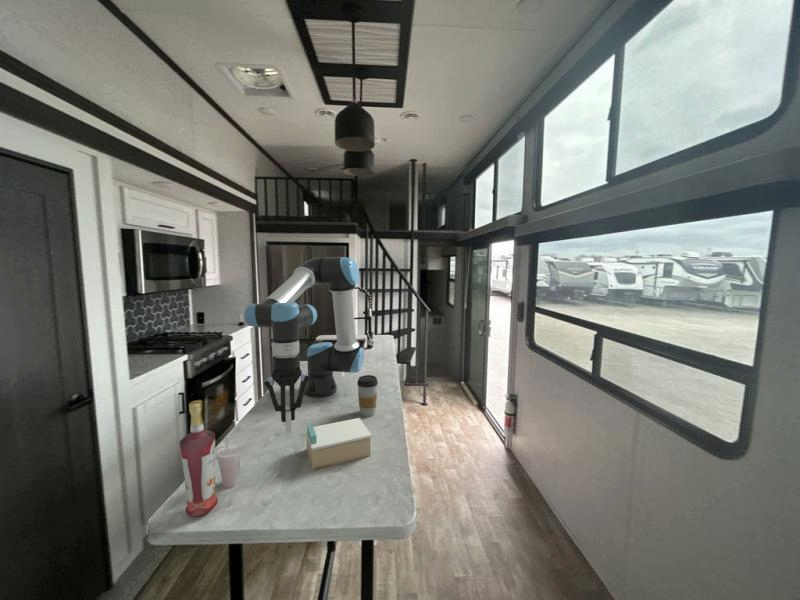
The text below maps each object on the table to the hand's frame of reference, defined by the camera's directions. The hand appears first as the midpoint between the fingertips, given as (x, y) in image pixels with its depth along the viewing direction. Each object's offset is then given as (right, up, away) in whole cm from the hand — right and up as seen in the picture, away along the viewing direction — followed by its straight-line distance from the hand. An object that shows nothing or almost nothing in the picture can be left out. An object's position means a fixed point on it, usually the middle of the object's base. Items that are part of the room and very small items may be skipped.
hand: (288, 430), depth 99 cm
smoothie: (-14, -12, -7) cm, 19 cm away
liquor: (-16, -13, -17) cm, 27 cm away
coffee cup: (+20, -7, +36) cm, 42 cm away
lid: (+14, -4, +7) cm, 16 cm away
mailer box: (+14, -10, +8) cm, 19 cm away
